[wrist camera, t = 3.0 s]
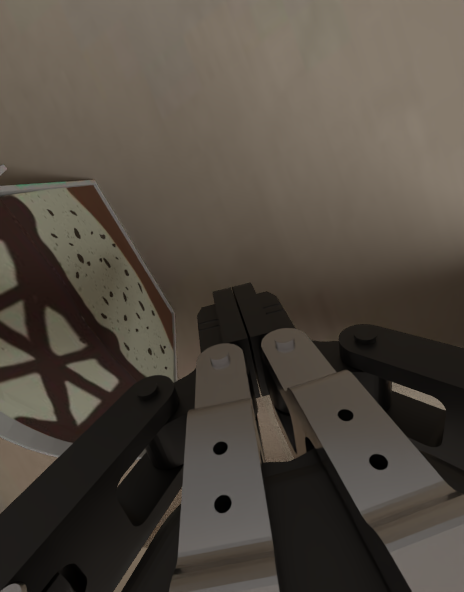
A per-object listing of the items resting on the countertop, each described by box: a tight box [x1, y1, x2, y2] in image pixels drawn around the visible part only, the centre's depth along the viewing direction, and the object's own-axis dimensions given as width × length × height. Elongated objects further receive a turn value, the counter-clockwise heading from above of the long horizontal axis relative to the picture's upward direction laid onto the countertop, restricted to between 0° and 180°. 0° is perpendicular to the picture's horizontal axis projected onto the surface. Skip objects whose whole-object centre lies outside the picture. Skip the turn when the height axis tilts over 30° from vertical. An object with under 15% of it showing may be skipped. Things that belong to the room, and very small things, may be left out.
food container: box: [0, 164, 178, 460], centre depth 16 cm, size 12×6×10 cm, turn 23°
